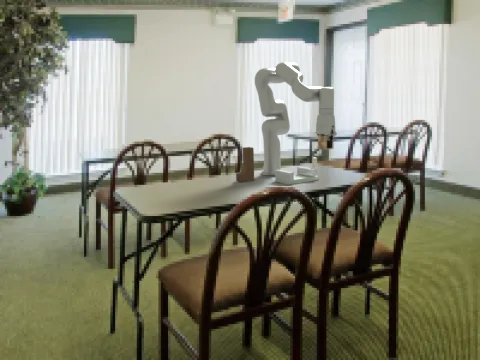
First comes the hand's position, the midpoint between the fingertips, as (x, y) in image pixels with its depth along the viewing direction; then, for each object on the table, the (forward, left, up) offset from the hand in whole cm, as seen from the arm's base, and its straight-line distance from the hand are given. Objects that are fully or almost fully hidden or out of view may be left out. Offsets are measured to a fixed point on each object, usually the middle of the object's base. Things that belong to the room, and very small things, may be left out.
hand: (325, 147), depth 251 cm
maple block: (0, 0, -1) cm, 1 cm away
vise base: (-14, -8, -18) cm, 24 cm away
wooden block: (-31, -30, -19) cm, 47 cm away
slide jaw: (-14, +1, -16) cm, 21 cm away
